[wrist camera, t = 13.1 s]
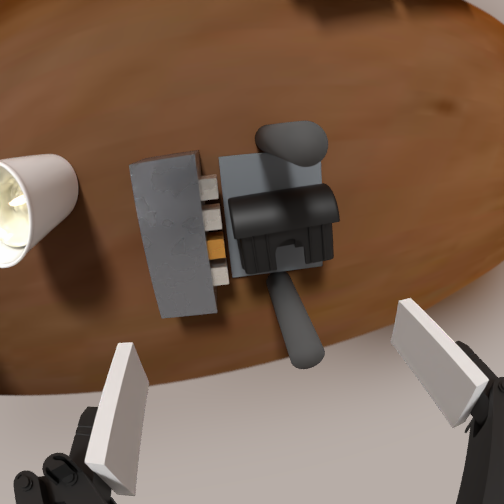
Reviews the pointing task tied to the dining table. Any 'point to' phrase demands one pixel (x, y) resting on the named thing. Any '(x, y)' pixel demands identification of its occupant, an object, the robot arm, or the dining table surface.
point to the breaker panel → (180, 232)
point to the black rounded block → (283, 225)
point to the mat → (256, 181)
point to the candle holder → (32, 201)
